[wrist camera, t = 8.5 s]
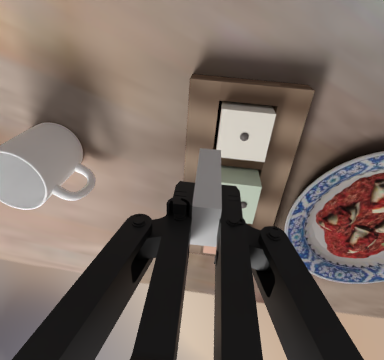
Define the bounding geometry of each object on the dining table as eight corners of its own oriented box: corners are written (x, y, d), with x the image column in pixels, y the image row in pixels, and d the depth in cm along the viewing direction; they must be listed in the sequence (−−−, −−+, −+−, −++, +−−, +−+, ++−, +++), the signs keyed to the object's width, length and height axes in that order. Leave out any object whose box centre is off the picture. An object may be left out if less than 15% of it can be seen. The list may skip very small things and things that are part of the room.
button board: (192, 74, 32) (189, 78, 30) (307, 84, 32) (314, 90, 29) (181, 238, 47) (179, 251, 44) (259, 248, 46) (261, 262, 44)
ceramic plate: (251, 204, 42) (252, 216, 39) (433, 103, 31) (451, 110, 29) (326, 290, 51) (331, 305, 48) (487, 234, 40) (505, 248, 38)
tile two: (214, 164, 36) (213, 181, 32) (257, 169, 36) (262, 187, 32) (209, 199, 39) (207, 219, 35) (249, 204, 39) (252, 224, 35)
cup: (36, 110, 37) (-20, 137, 28) (115, 150, 39) (84, 187, 30) (26, 154, 41) (-26, 190, 32) (98, 189, 43) (67, 231, 35)
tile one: (222, 98, 33) (222, 109, 29) (270, 103, 33) (276, 114, 29) (216, 142, 36) (215, 157, 32) (260, 147, 36) (264, 162, 32)
